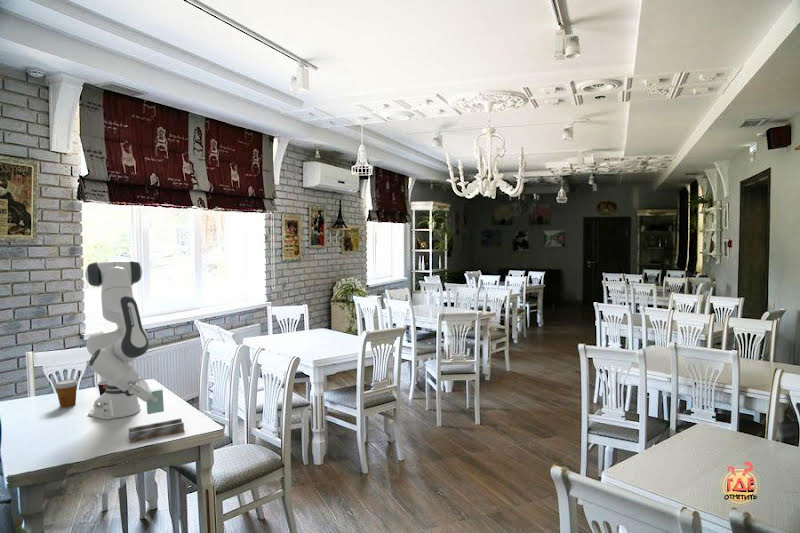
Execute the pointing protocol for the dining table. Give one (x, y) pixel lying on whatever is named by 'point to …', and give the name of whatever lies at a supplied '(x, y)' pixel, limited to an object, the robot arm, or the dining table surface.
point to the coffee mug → (101, 388)
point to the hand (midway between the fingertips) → (156, 399)
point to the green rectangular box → (156, 406)
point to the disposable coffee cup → (66, 392)
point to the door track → (156, 430)
